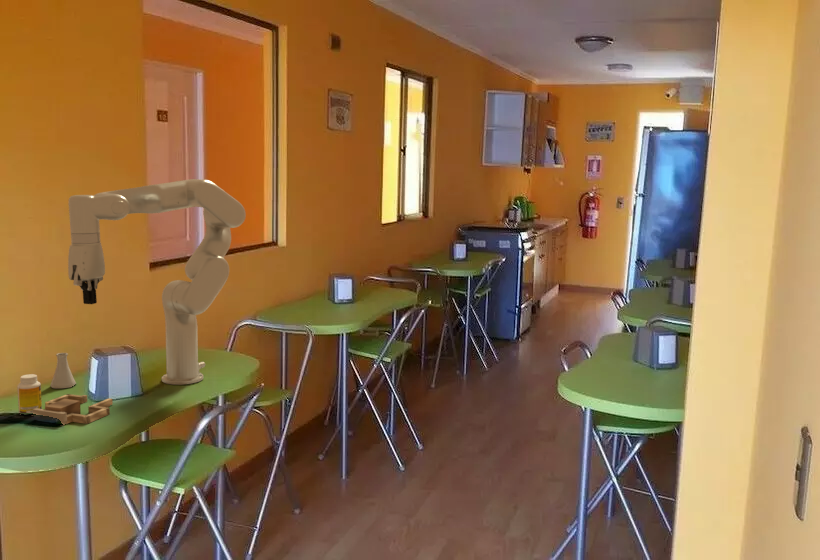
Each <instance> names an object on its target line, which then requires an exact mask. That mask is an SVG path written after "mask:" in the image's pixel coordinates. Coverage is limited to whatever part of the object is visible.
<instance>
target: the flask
mask: <svg viewBox="0 0 820 560" xmlns="http://www.w3.org/2000/svg"><path fill="white" fill-rule="evenodd" d="M55 356H56V358H57V362H56V368H55V371H54V374H53V378H52V380H51V382H50V385H49V386H50V387H51V388H52V389H67V388H72V386H73V387H75V386H76V385H77V382H76V380H75V378H74V376H73V373H72V371H71V369H70V366H69V362H68V358H67V357H68V356H69V353H67V352H58V353H56V354H55ZM75 384H76V385H75ZM74 385H75V386H74Z"/></svg>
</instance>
